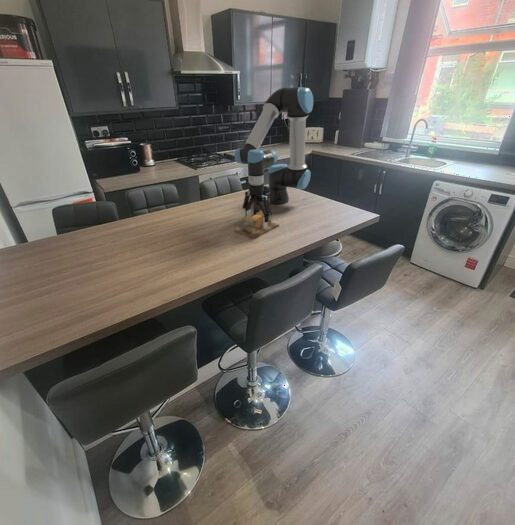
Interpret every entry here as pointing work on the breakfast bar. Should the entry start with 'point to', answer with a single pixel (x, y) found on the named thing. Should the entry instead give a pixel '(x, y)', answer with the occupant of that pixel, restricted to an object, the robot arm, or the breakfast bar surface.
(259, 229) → the shaft bench
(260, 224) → the orange rectangular block
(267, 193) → the canister
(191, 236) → the breakfast bar surface
